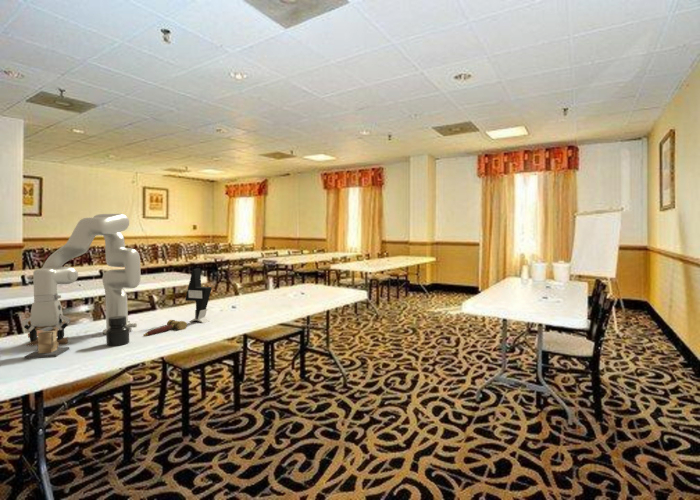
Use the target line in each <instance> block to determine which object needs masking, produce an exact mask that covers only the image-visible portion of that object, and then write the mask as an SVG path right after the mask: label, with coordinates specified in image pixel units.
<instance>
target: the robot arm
mask: <svg viewBox="0 0 700 500" xmlns="http://www.w3.org/2000/svg"><path fill="white" fill-rule="evenodd" d="M129 226H130V219H129V217H128V216H127V215H125V214H124V213H100V214H96V215H94V216H92V217H84V218H81V219H80V220H79V221H78V222H77V223H76V226H75V227H74V229H73V231H72V232H71V235H70V236H69V238H68V240H67V241H66V243H65V244H64V245H62V246H60V247H59V248H58V249H57V250H56V251H54V252H53V253H52V254H50V255H49V256H48V257H47V259H46V260H45V261H44V264H42V267H41V268H37V269H35V270H33V275H32V278H33V279H32V280H33V302H32V304H31V309H30V316H29V317H26V319H24V320H22V321H21V324H22V325H23V327H24V329H25V330H27V332H28V333H30V338H29V340H30V339H31V342H32V341H35V340H37V337H38V336H37V328H38V327H39V328H42V327H43V328H45V327H57V328H58V329H59V330H58V331H57V338H58V340H61V339H63V338H65V329H66V328H67V327H68V326H69V325H70V322H71V320H72V318H70V317H69V316H66V315H64V314H63V309H62V303H61V301H60V300H59V299H61V298H62V296H61V295H60V294H58V285H70V284H73V283H74V282H76V281H77V280H78V277H79V272H78V271H77V270H76V269H75V268H74V267H71V266H64V264H66V263H67V262H69V261H70V260H72V259H74V258H77V257H80V256H83V255H84V254H86V253H87V252H88V251H89V249H90V247H91V245H92V243H93V241H94V239H95V238H96V237H98V236H102V237H103V239H104V247H105V248H104V249H105V251H104V252H105V262H106V264H107V266H109V267H110V268H111V267H112V268H124V269H111V270H108V271H105V272H104V274H103V275H102V285H103V289H104V293H105V295H104V296H105V321H106V323H105V324H106V328H104V329H103V331H102V334H104V335H106V331H107V329H109V319H108V318H110V317H114V316H126V325H125V326H127V327H128V328H129V332H131V331H132V328H137V326H138V323H136V322H135V323H134V322H132V323H131V321H130V320H129V317H128V316H129V315H128V314H129V312H128V311H129V309H128V294H127V291H125V290H126V289H129V290H130V289H135V288H137V287H138V286H139V285H140V283H141V275H142V274H141V271H142V270H141V256H140V253H139V252H138V250H136V249H134V248H132V247H131V248H130V247H126V244H125V237H124V235H123V232H124V231H125V230H127V229H128V228H129ZM29 322H30V324H29Z"/></svg>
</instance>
